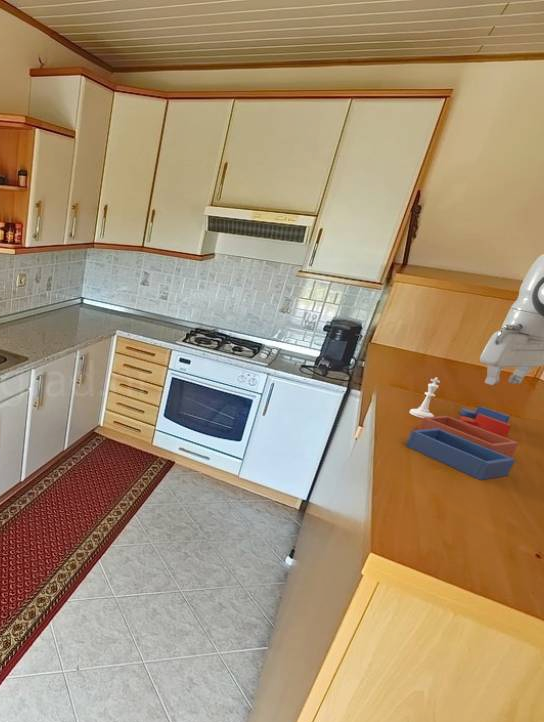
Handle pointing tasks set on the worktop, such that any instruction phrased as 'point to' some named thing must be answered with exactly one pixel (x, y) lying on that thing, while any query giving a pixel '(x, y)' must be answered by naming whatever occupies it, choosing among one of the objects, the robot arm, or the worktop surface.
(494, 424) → the red block
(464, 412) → the blue flat paddle
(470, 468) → the blue bin
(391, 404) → the worktop surface
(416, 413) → the chess piece
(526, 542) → the worktop surface
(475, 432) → the red bin
